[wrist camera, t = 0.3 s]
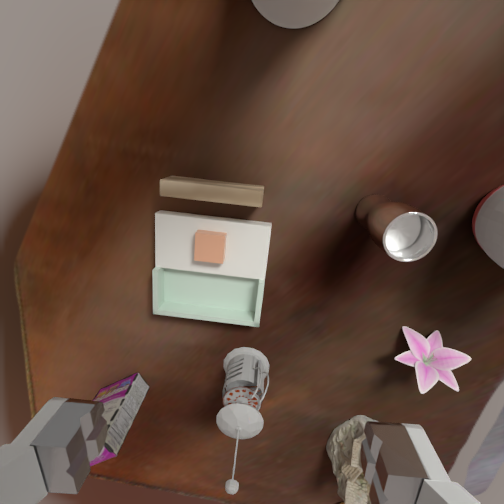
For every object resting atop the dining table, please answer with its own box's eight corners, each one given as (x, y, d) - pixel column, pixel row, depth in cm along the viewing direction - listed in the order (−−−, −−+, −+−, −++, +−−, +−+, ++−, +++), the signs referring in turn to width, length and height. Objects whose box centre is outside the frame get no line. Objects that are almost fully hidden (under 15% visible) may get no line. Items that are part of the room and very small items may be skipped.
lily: (460, 344, 61) (488, 351, 52) (433, 397, 61) (457, 414, 51) (402, 313, 64) (418, 315, 55) (375, 364, 63) (388, 374, 54)
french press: (214, 368, 66) (181, 493, 43) (247, 333, 63) (231, 448, 39) (250, 392, 68) (237, 525, 44) (284, 359, 64) (291, 485, 41)
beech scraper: (171, 175, 53) (159, 179, 47) (264, 185, 52) (263, 191, 47) (171, 190, 54) (159, 195, 48) (262, 200, 53) (261, 207, 48)
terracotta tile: (197, 229, 53) (195, 232, 51) (226, 232, 53) (224, 236, 51) (196, 256, 55) (194, 260, 53) (224, 259, 55) (222, 263, 53)
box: (160, 261, 58) (152, 270, 55) (265, 274, 58) (264, 283, 54) (160, 303, 61) (152, 313, 58) (259, 315, 61) (258, 327, 57)
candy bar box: (113, 403, 72) (69, 476, 56) (100, 388, 70) (51, 458, 55) (151, 387, 69) (117, 458, 54) (138, 371, 68) (99, 438, 52)
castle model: (366, 480, 74) (389, 555, 60) (312, 446, 73) (322, 515, 58) (411, 440, 70) (447, 510, 56) (355, 403, 69) (378, 466, 54)
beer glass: (355, 234, 54) (383, 267, 40) (350, 195, 52) (379, 216, 38) (396, 227, 53) (440, 258, 39) (393, 187, 51) (438, 205, 37)
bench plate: (160, 210, 55) (155, 213, 53) (271, 222, 54) (271, 226, 52) (160, 261, 58) (155, 266, 56) (265, 274, 58) (264, 280, 55)
